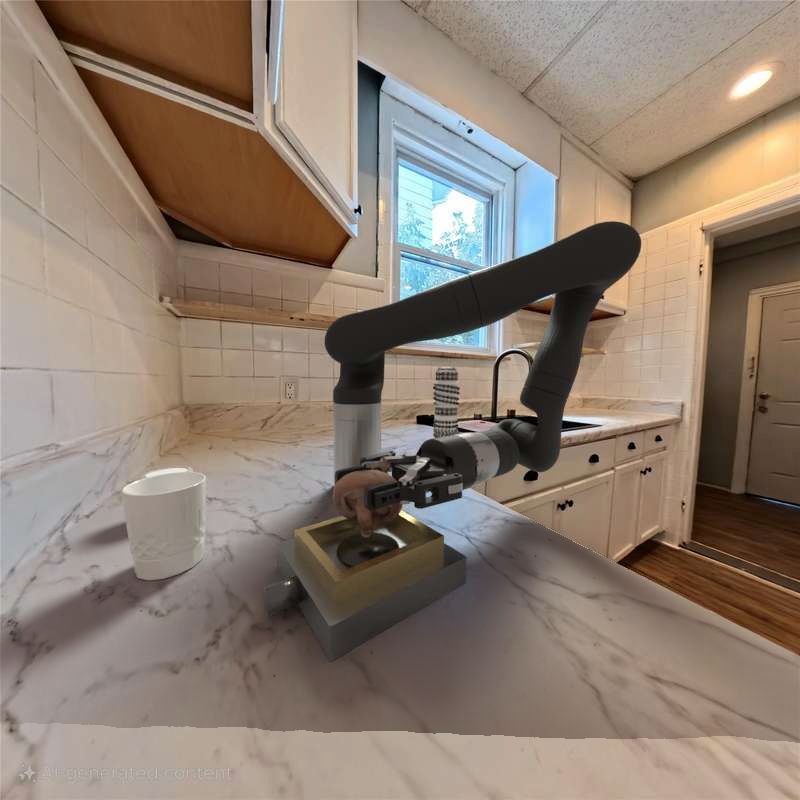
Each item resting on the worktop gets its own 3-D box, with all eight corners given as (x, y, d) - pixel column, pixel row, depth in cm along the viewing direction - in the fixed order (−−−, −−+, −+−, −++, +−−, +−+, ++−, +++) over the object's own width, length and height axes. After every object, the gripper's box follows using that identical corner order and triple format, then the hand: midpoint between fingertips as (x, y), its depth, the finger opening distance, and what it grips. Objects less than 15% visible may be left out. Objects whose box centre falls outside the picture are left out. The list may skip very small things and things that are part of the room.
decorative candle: (426, 439, 108) (427, 366, 105) (441, 435, 115) (442, 367, 112) (449, 443, 102) (451, 366, 99) (463, 439, 109) (465, 367, 106)
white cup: (164, 544, 42) (160, 471, 41) (222, 545, 41) (219, 472, 41) (108, 583, 34) (101, 494, 33) (179, 586, 34) (173, 496, 33)
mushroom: (325, 542, 35) (320, 471, 34) (359, 519, 40) (354, 457, 39) (382, 558, 31) (377, 479, 30) (411, 530, 36) (407, 462, 36)
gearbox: (245, 568, 37) (244, 527, 36) (381, 522, 48) (381, 491, 48) (292, 684, 23) (290, 621, 23) (465, 582, 34) (467, 539, 34)
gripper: (424, 427, 49) (321, 443, 39) (503, 444, 37) (387, 472, 27) (424, 474, 49) (323, 501, 39) (502, 505, 38) (388, 554, 28)
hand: (350, 489), depth 33 cm, fingers closed on mushroom, 6 cm apart
